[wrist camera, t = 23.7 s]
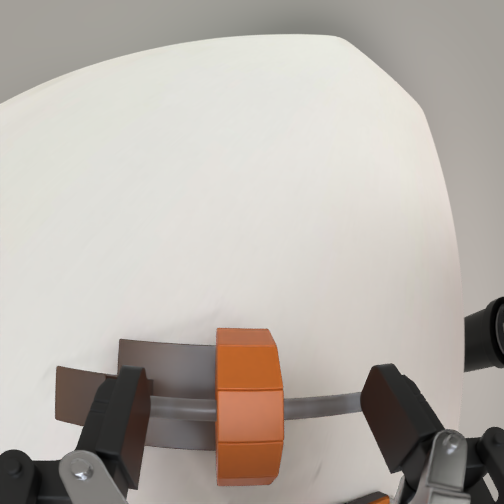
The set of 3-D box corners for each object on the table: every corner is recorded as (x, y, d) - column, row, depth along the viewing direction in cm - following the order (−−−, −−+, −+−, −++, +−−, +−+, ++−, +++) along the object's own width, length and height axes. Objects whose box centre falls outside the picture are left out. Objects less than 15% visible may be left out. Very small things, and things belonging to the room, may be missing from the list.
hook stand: (119, 440, 23) (50, 475, 10) (121, 340, 27) (55, 301, 14) (325, 442, 25) (406, 473, 12) (322, 346, 29) (400, 312, 16)
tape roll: (254, 342, 23) (281, 315, 14) (255, 461, 19) (283, 505, 10) (215, 341, 23) (217, 313, 14) (215, 461, 19) (219, 508, 10)
